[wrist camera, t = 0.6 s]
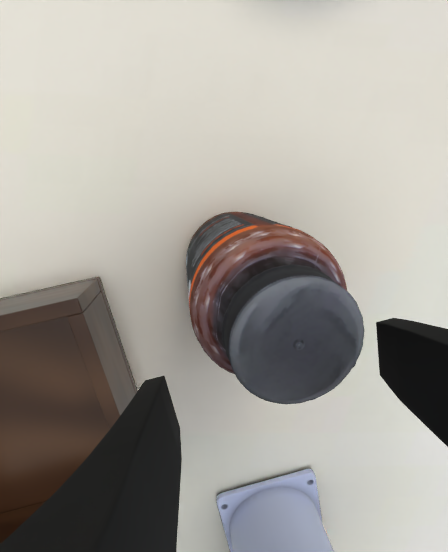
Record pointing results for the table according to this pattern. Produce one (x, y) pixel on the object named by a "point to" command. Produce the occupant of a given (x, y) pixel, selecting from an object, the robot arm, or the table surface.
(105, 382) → the crate
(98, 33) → the table surface
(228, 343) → the supplement bottle
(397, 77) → the table surface
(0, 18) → the table surface
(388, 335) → the robot arm
